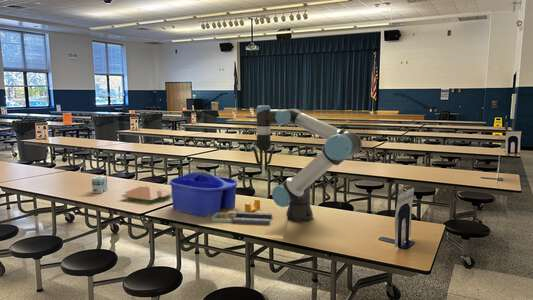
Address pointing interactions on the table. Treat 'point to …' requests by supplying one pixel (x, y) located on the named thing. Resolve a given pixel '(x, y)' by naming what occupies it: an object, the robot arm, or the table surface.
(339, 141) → the robot arm
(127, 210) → the table surface
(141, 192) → the house
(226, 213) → the chip
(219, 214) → the tray
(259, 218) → the slot rail
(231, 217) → the chip
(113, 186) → the table surface
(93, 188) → the light bulb box
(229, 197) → the caddy
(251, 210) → the pipe clamp
